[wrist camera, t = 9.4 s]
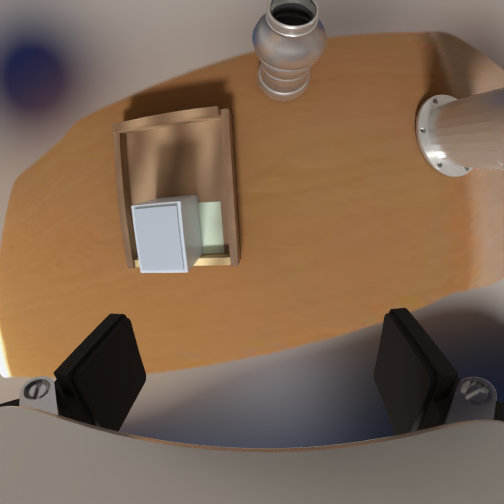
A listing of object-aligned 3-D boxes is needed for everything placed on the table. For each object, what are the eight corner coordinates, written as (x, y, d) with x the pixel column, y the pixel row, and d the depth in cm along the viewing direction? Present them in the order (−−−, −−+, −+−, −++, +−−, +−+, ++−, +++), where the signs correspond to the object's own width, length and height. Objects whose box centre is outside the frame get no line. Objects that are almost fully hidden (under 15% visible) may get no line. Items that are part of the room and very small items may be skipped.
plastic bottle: (247, 83, 34) (225, 10, 15) (283, 52, 32) (291, -33, 13) (282, 114, 35) (293, 62, 16) (318, 83, 33) (357, 14, 14)
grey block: (197, 194, 37) (179, 201, 30) (202, 253, 40) (187, 273, 32) (155, 198, 38) (130, 206, 30) (162, 254, 40) (140, 273, 33)
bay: (231, 112, 35) (226, 105, 30) (240, 258, 41) (236, 270, 36) (123, 129, 36) (105, 125, 32) (136, 261, 42) (121, 272, 37)
